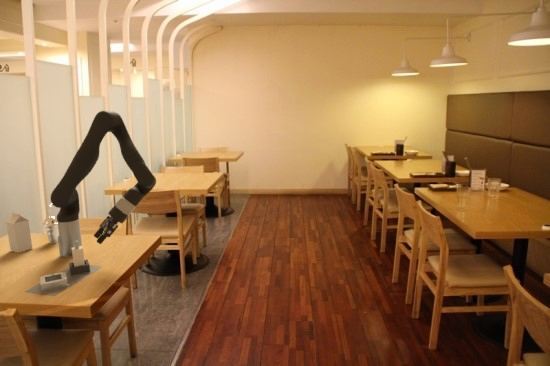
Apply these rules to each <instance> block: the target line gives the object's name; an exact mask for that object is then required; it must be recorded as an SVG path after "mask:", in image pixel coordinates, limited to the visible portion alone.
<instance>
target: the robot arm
mask: <svg viewBox="0 0 550 366" xmlns="http://www.w3.org/2000/svg"><path fill="white" fill-rule="evenodd" d="M107 133H111V134H113V136H114V137H115V139H116V140H117V142H118V144H119V148H120V149H119V150H120V152H121V153H120V154H121V156H122V158H123V160H124V162H125V164H126V166H127V167H128V168H129V170H130V171H131V173H133V176H134V178H135V179H136V182H137V183H135V185H134V186H133V187H130V188H129V189H128V190H126V192H125V193H124V194H123V195H122V197H121V198H119V199H118V201H117V202H115V204H114V205H113V207H112V208H111V209H110V210H109V211H108V212H107V213H108V215H107V216H106V218H104V220H103V221H102V222H101V223H100V224H99V228H98V230H97V231H96V232H95V233H94V235H93V237H95V239H96V243H98V244H99V245H101V244H103V242H104V241H106V240H107V238H110V237H112V235H113V234H114V233H115V231H116V230H118V227H119V225H118V223H120V224H124V222H125V221H126V220H127V219H128V217H129V216H130V215H131V214H132V213H133V211H134V210H135V209H136V207H137V206H138V205H139V203H140V202H141V201H142V200H143V198H144V197H145V196H147V194H149V193H150V192H151V191H152V190H153V189H154V187H155V186H156V184H157V179H156V177H155V175H154V174H153V173H152V172H151V170H150V168H149V167H148V166H147V165H146V163H145V160H144V158H143V156H142V155H141V154H140V152H139V151H138V149H137V147H136V146H135V144H134V142H133V140H132V138H131V135H130V134H129V132H128V130H127V126H126V124H125V123H124V121H123V118H122V116H121V114H119V112H116V111H110V110H100V111H99V112H98V113H96V115H95V116H94V118H93V120H92V122H91V125H90V127H89V129H88V131H87V134H86V135H85V137H84V139H83V141H82V143H81V144H80V146H79V148H78V149H77V150H76V153H75V154H74V157H73V158H72V160H71V162H70V163H69V165H68V168H67V169H66V170H65V173H64V174H63V176H62V178H61V180H60V181H59V182H58V184H56V187H55V188H53V190H52V192H51V194H50V204H51V203H52V205H53V207H56V208H57V209H58V208H59V209H60V210H59V211H58V213H57V215H56V217H57V223H58V231H59V236H58V242H57V243H58V250H59V256H61V257H62V258H71V257H72V258H73V255H72V247H75V244H74V241H79V246H82V247H83V243H82V233H81V225H80V218H79V217H80V215H79V214H80V211H81V210H80V197H79V192H78V190H77V187H78V185H80V183H81V182H82V181H83V180H85V178H86V177H87V176H88V175H89V174H90V173H91V172H92V170H93V168H94V167H95V165H96V164H97V162H98V161H99V157H100V148H101V147H100V146H101V143H102V142H103V139H104V138H105V136H106V135H107Z"/></svg>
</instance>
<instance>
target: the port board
mask: <svg viewBox="0 0 550 366" xmlns="http://www.w3.org/2000/svg"><path fill="white" fill-rule="evenodd" d="M89 266H90V272H85V273H81V274H76V275H71V272H70V267H67V268H65V269H64V270H61V272H65V273H66V277H67V284H68V287H64V288H59V289H55V290H50V291H45V292H41V285H40V283H38V284H36V285H34V286H31V288H28V289H27V290H25V291H24V293H27V294H28V293H29V294H39V295H46V296H47V295H48V296H57V295H58V294H60V293H62V292H63V291H65V290H66V289H69V288H70V287H72V286H73V285H75V284H76V283H79V282H80V281H82V280H83V279H85V278H87V277H88V276H89V275H92V274H93V273H95V272H97V271H99V269H102V268H103V267H104V266H102V265H93V264H92V265H91V264H89Z"/></svg>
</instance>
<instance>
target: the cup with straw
mask: <svg viewBox="0 0 550 366" xmlns="http://www.w3.org/2000/svg"><path fill="white" fill-rule="evenodd" d="M52 205H53V204H52V203H51V202H50V204H49V206H48V211H49V216H47V217H46V218H45V219H44V220H43V223H42V227H44V229H45V232H46V235H47V239H48V241H49V242H48V243H49V244H56V243H58V236H59V231H58V223H57V216H54V215H52Z"/></svg>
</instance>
